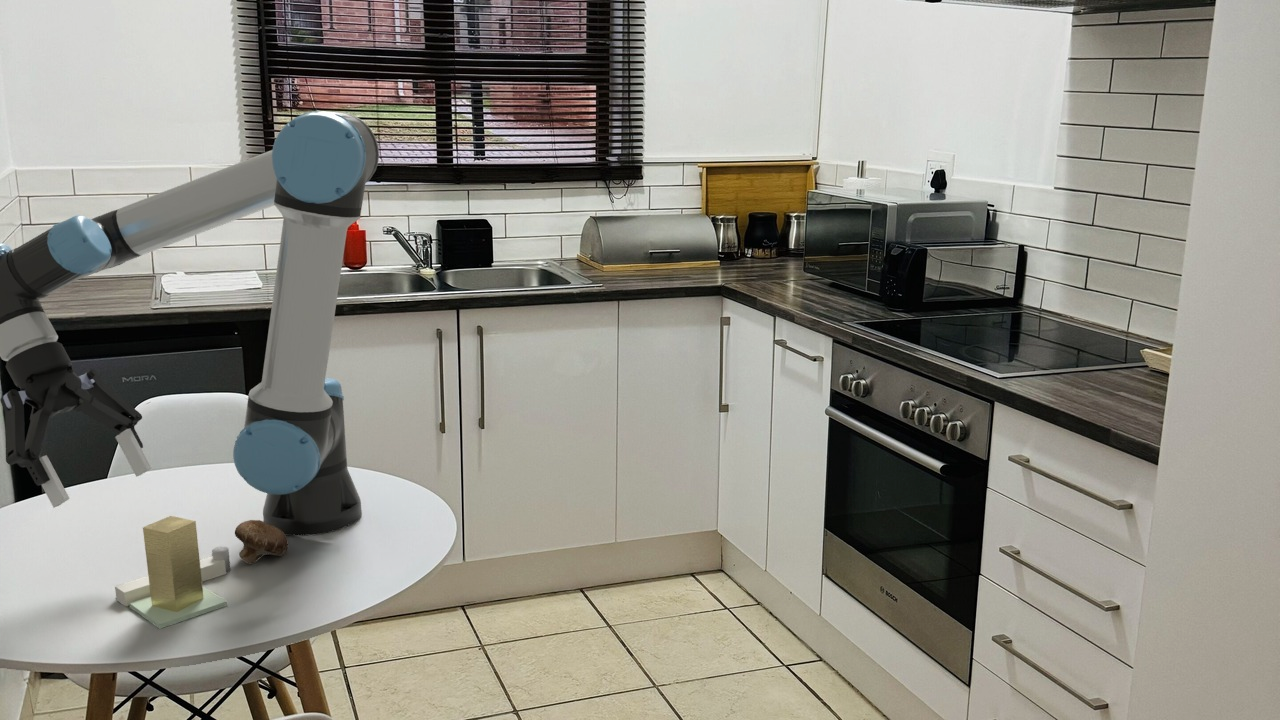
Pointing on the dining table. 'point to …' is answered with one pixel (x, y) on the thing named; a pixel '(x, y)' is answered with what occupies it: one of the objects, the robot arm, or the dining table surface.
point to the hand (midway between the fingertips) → (104, 487)
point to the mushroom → (260, 540)
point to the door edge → (209, 569)
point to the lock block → (173, 563)
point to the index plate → (168, 617)
